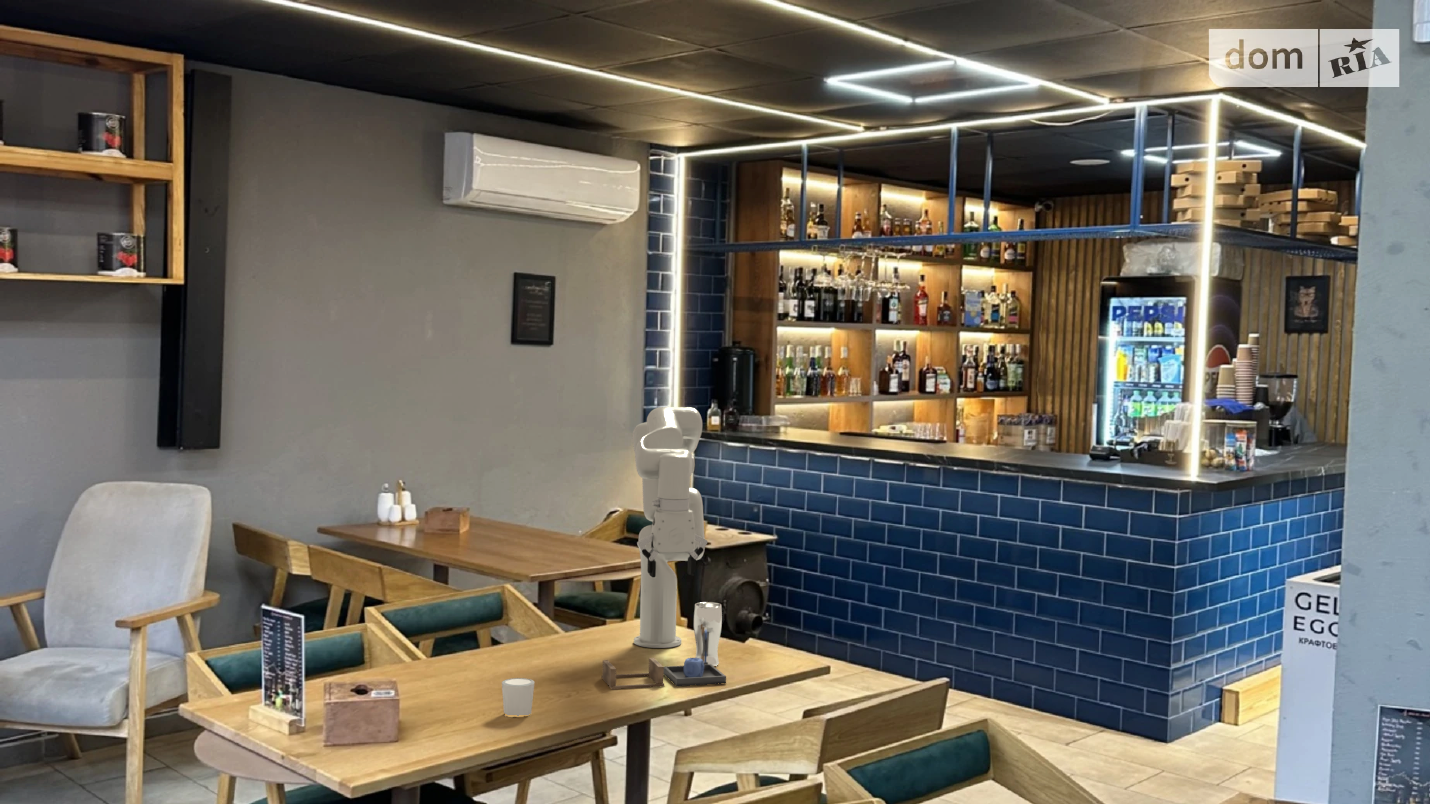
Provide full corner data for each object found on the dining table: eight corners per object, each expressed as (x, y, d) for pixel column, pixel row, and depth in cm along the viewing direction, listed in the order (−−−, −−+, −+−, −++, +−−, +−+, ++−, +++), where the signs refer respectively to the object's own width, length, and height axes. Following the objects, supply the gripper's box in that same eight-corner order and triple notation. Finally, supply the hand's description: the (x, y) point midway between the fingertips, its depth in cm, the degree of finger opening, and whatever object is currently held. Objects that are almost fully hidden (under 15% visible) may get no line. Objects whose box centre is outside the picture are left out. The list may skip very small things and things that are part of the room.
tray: (663, 674, 311) (663, 666, 311) (710, 671, 315) (711, 664, 315) (676, 686, 300) (676, 678, 300) (726, 683, 303) (726, 676, 303)
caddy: (601, 677, 306) (601, 659, 306) (652, 675, 310) (652, 656, 310) (611, 689, 296) (612, 670, 296) (664, 686, 299) (664, 667, 299)
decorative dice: (704, 675, 309) (704, 658, 308) (699, 679, 305) (699, 662, 305) (687, 673, 310) (688, 657, 310) (683, 677, 306) (683, 660, 306)
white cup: (519, 720, 269) (520, 687, 269) (494, 715, 273) (494, 682, 272) (540, 713, 275) (541, 680, 275) (515, 708, 279) (516, 675, 278)
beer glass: (721, 662, 325) (723, 602, 324) (719, 668, 318) (720, 607, 317) (694, 660, 325) (695, 601, 325) (691, 667, 319) (692, 606, 318)
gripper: (642, 508, 304) (641, 580, 306) (712, 506, 310) (710, 577, 311) (634, 503, 311) (632, 573, 313) (702, 501, 317) (700, 570, 318)
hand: (671, 575), depth 312 cm, fingers open, 9 cm apart
